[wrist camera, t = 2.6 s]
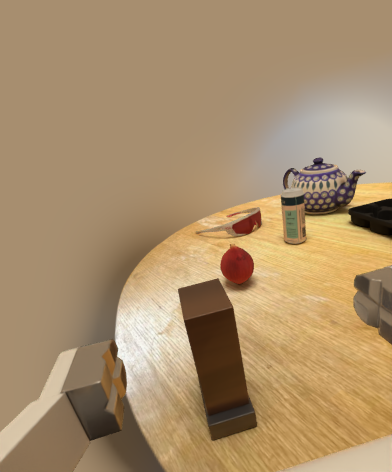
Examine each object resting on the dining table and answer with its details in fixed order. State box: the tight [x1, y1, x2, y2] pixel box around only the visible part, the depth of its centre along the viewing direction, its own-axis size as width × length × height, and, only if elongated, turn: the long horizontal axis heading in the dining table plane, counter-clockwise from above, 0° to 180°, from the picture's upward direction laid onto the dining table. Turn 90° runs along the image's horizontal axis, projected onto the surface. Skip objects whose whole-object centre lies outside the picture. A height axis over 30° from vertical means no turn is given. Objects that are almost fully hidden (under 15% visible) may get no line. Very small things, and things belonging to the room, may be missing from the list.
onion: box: [221, 244, 254, 284], centre depth 45 cm, size 6×6×8 cm
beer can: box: [281, 187, 306, 244], centre depth 57 cm, size 5×5×12 cm
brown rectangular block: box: [178, 279, 257, 440], centre depth 24 cm, size 6×4×13 cm
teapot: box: [283, 158, 366, 214], centre depth 73 cm, size 25×15×15 cm, turn 28°
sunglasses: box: [196, 207, 262, 236], centre depth 74 cm, size 17×17×5 cm
